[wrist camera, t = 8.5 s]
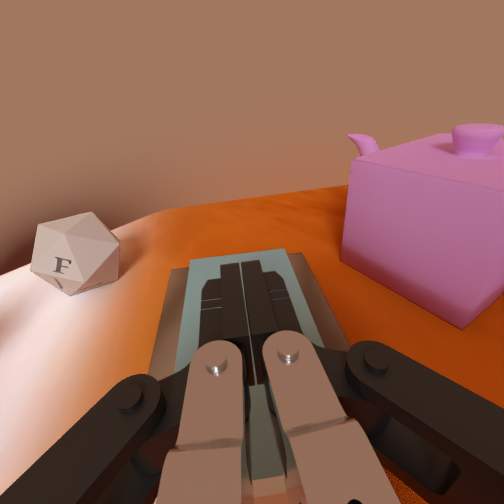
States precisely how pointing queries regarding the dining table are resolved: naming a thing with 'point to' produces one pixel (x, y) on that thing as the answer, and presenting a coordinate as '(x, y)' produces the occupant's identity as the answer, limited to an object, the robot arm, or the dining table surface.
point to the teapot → (431, 219)
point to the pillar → (263, 443)
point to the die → (76, 253)
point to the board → (174, 304)
